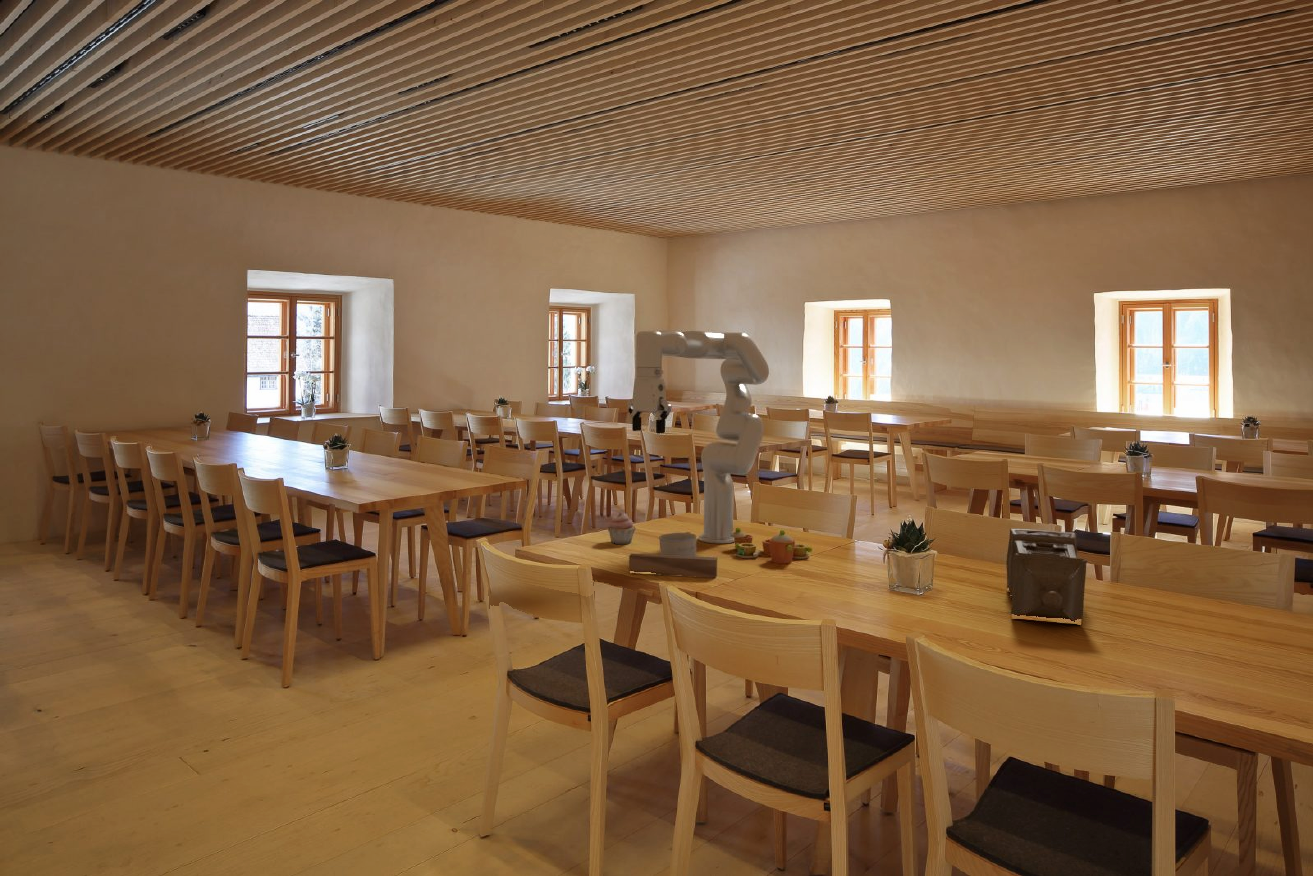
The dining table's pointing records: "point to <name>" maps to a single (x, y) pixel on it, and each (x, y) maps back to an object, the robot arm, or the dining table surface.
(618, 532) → the cupcake
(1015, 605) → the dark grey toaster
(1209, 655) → the dining table surface
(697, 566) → the block
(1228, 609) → the dining table surface
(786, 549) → the toy tea set
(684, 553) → the grey rounded block
